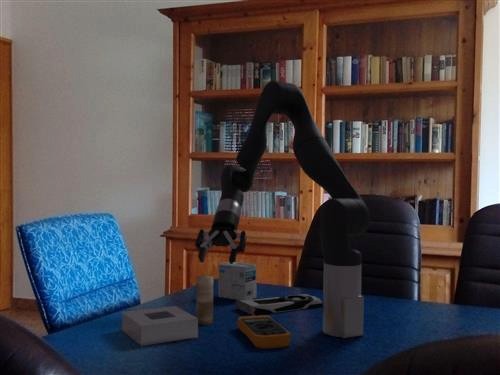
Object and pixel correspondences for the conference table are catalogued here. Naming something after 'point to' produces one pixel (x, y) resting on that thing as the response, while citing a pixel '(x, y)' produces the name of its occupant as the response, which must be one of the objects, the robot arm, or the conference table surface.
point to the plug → (204, 299)
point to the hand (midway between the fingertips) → (215, 261)
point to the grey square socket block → (159, 325)
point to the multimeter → (264, 331)
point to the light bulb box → (237, 280)
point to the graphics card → (278, 304)
